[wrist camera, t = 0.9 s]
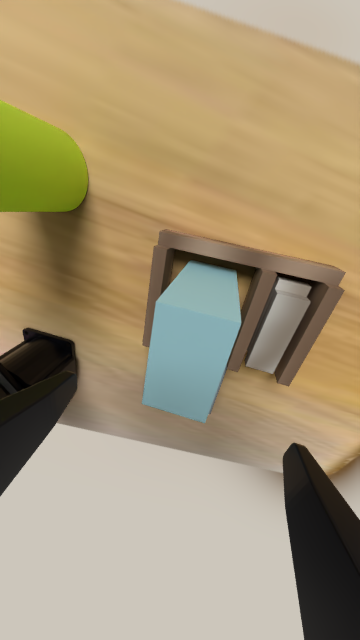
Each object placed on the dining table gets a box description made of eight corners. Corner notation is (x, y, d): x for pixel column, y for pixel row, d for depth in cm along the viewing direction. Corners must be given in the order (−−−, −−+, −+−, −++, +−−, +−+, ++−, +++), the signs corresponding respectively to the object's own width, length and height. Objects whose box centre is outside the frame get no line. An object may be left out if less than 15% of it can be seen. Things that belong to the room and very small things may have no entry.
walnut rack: (152, 329, 23) (142, 345, 20) (166, 229, 18) (155, 232, 15) (281, 364, 21) (289, 386, 19) (333, 266, 17) (352, 276, 14)
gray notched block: (243, 347, 22) (245, 366, 19) (274, 272, 18) (281, 283, 15) (267, 354, 21) (272, 373, 19) (303, 279, 18) (316, 291, 15)
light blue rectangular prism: (177, 327, 22) (141, 403, 13) (190, 259, 19) (155, 301, 10) (215, 338, 22) (205, 423, 13) (236, 270, 18) (241, 323, 10)
